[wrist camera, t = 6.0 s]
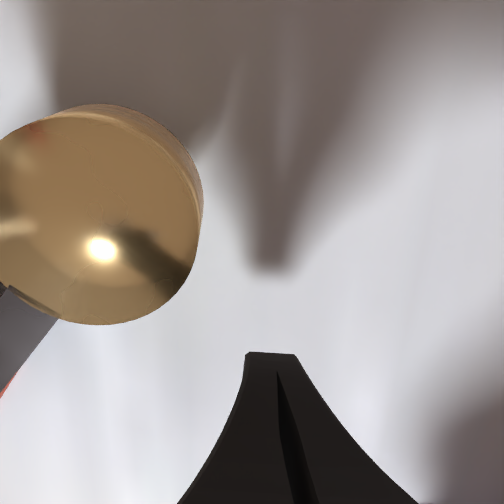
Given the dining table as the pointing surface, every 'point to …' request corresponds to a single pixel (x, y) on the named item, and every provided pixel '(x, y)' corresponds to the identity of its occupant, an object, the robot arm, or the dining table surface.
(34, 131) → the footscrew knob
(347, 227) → the dining table surface
